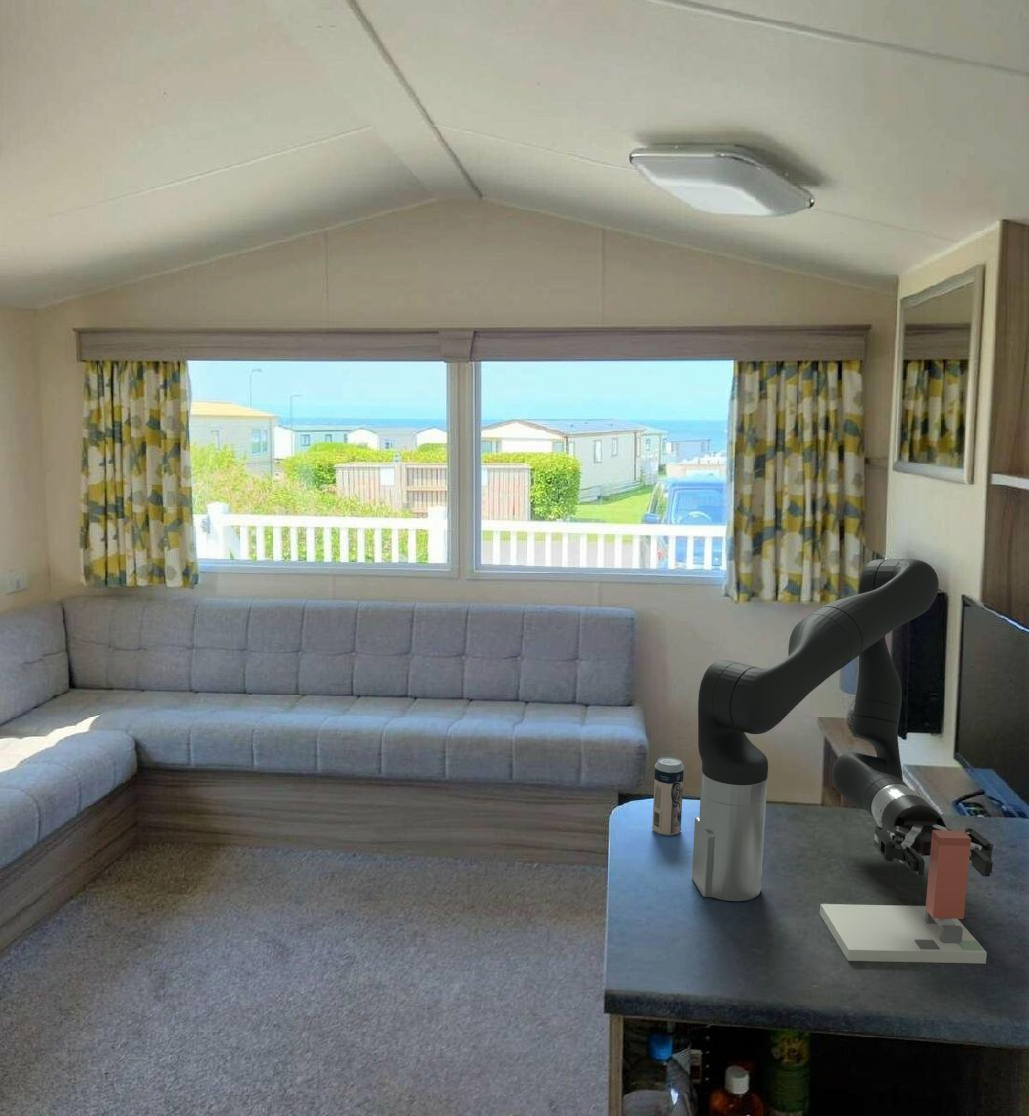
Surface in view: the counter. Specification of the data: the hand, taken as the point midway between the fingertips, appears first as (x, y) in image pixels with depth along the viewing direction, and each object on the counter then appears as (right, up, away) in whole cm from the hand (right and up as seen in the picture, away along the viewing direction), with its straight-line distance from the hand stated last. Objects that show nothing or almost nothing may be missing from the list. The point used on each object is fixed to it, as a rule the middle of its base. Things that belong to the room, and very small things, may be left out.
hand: (954, 869), depth 131 cm
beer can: (-32, -5, +37) cm, 49 cm away
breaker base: (-6, -10, +4) cm, 13 cm away
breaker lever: (0, -8, +3) cm, 8 cm away
